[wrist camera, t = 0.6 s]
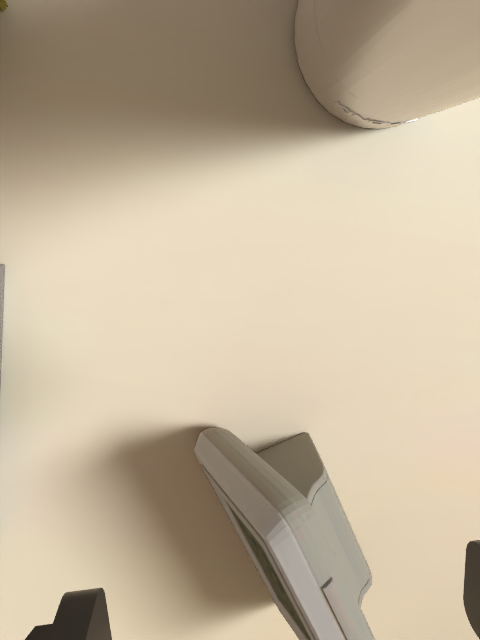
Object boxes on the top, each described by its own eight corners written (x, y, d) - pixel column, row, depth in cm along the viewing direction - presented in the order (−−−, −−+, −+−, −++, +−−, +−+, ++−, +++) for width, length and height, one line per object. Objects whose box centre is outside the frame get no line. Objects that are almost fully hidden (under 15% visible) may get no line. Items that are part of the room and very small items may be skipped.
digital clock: (187, 417, 28) (183, 544, 18) (325, 383, 28) (400, 490, 18) (240, 610, 32) (262, 800, 22) (359, 579, 33) (433, 752, 23)
